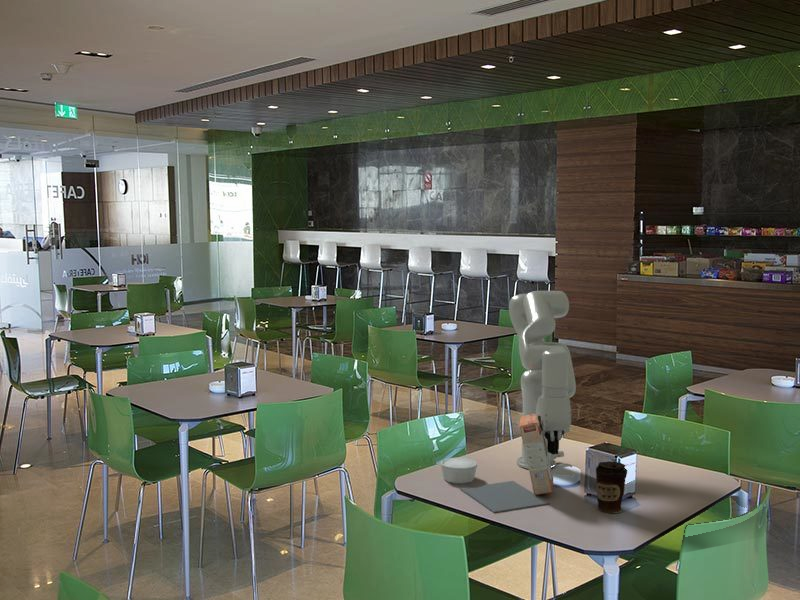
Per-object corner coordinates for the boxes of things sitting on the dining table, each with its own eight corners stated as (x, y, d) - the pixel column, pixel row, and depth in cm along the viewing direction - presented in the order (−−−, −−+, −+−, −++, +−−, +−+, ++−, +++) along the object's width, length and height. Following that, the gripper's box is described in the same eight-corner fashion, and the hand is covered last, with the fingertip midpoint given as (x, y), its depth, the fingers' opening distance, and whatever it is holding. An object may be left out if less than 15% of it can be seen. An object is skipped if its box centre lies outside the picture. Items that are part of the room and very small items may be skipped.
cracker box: (554, 492, 224) (538, 422, 224) (534, 496, 226) (517, 425, 225) (555, 478, 238) (539, 412, 238) (535, 482, 239) (520, 415, 239)
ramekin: (435, 474, 246) (436, 458, 246) (469, 472, 249) (469, 455, 248) (446, 486, 235) (447, 469, 235) (481, 483, 238) (482, 466, 238)
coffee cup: (621, 518, 211) (622, 471, 210) (590, 512, 215) (592, 466, 214) (628, 507, 218) (630, 462, 217) (599, 502, 223) (600, 457, 221)
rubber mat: (512, 482, 239) (513, 480, 239) (549, 504, 221) (549, 502, 221) (460, 489, 232) (460, 488, 232) (493, 513, 214) (493, 511, 214)
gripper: (567, 387, 236) (566, 447, 238) (525, 391, 230) (524, 452, 232) (583, 392, 229) (581, 453, 231) (540, 396, 223) (538, 459, 225)
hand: (552, 452), depth 232 cm, fingers closed
